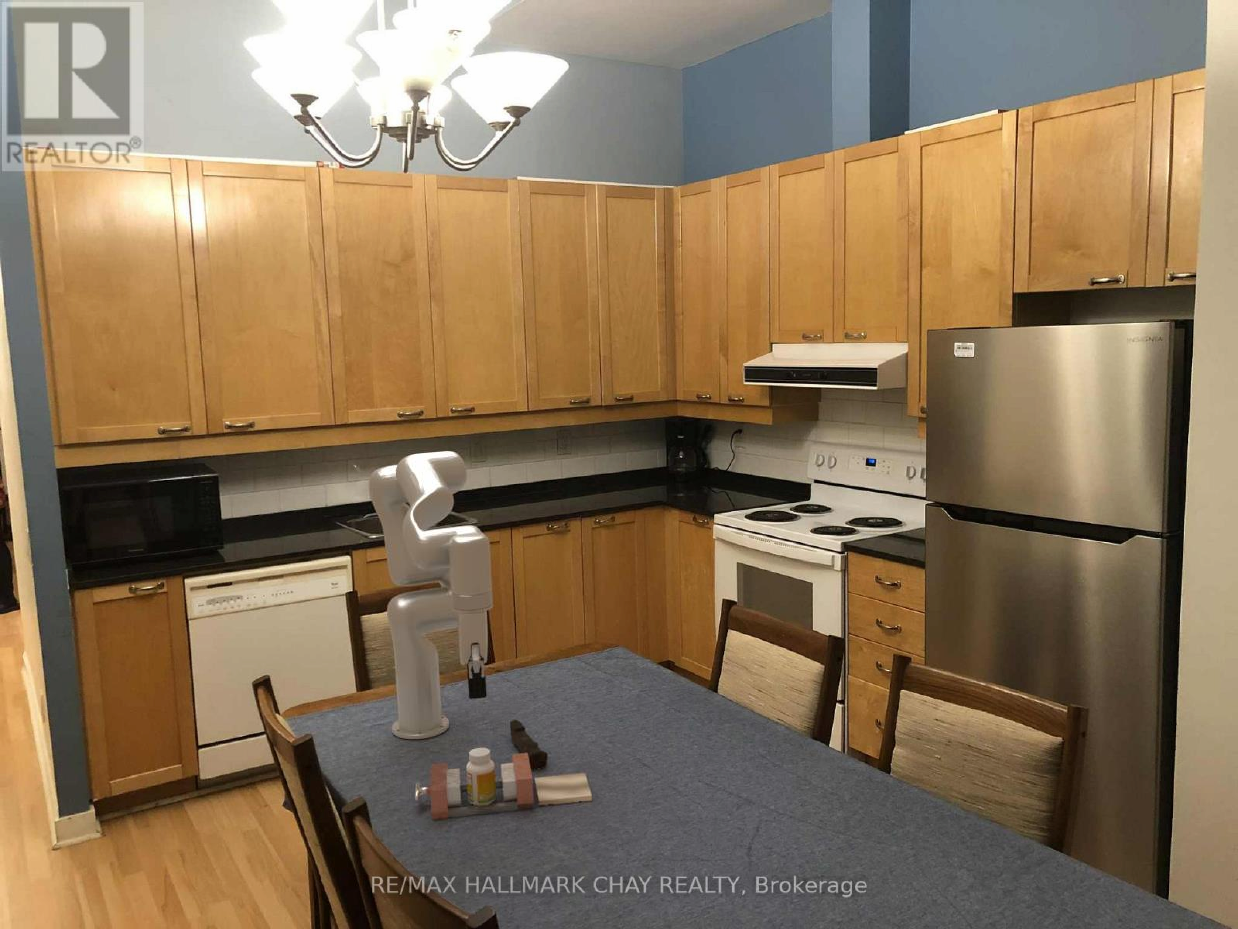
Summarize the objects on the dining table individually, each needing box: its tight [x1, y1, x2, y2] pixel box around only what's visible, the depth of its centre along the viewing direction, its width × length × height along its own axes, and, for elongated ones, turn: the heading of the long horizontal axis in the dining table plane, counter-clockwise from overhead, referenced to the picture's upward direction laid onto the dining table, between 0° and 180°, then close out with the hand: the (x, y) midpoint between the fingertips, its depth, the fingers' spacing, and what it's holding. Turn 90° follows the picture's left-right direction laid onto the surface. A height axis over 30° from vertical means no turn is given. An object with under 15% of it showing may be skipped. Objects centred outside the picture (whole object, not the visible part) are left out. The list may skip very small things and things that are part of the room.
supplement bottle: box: [465, 747, 497, 806], centre depth 194 cm, size 5×5×10 cm
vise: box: [414, 752, 535, 820], centre depth 194 cm, size 12×22×6 cm, turn 99°
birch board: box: [534, 772, 593, 807], centre depth 197 cm, size 10×10×1 cm
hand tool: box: [509, 719, 549, 771], centre depth 216 cm, size 19×4×5 cm, turn 20°
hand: (477, 688), depth 192 cm, fingers open, 9 cm apart
